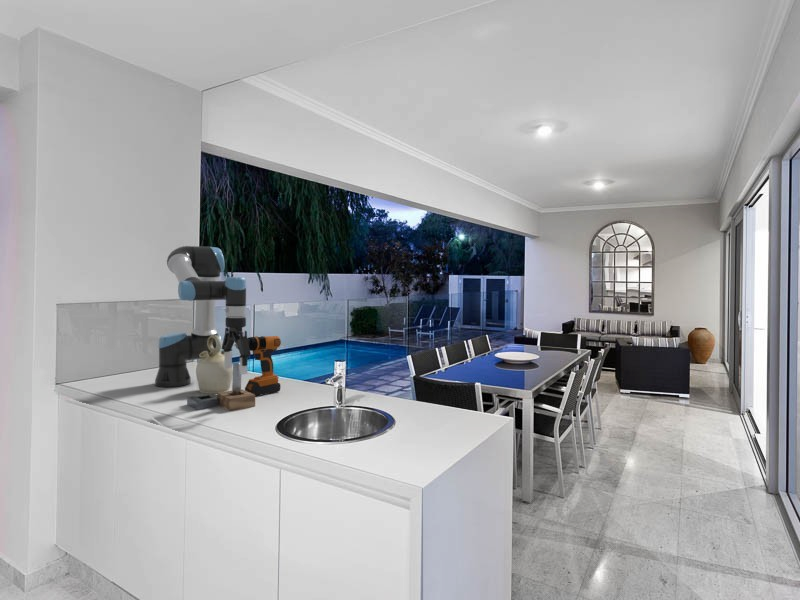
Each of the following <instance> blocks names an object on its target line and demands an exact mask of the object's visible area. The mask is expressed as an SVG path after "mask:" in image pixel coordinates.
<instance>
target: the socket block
mask: <svg viewBox="0 0 800 600" xmlns="http://www.w3.org/2000/svg"><path fill="white" fill-rule="evenodd" d="M186 405H187V406H188V407H190V408H192V409H194V410H196V411H200V410H205V409H210V408H216V407H217V408H218V407H221V406H220V398H219V397H217V393H202V394H198V395H190V396H186Z"/></svg>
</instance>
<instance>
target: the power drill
mask: <svg viewBox="0 0 800 600" xmlns="http://www.w3.org/2000/svg"><path fill="white" fill-rule="evenodd" d="M247 339H248V344H249V348H250V352H252V354H253V355H254V356H255V358H254V360H255V361H259V362H260V370H261V373H262V374H261V375H259V376H255V377H253V378H250V379H249V380H248V381H247V384H246V386H245V387H244V390H245V391H247V392H250V393H252V394H255V397H259V396H263V395H268V394H272V393H273V394H274V393H276V392H277V393H278V392H280V391H281V389H282V388H281V383H280V382H279V376H278V375H277V374H274V360H273V358H272V353H273V352H276V351H277V350H278V348H280V347H281V344H282V340H281V338H280V337H279V336H278V335H271V336H267V335H265V336H264V335H263V336H261V335H260V336H257V335H256V336H250V337H247ZM233 346H234V347H235V348H236V349H238V346H237V343H234V344H233ZM238 350H239V349H238Z"/></svg>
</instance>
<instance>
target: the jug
mask: <svg viewBox="0 0 800 600" xmlns="http://www.w3.org/2000/svg"><path fill="white" fill-rule="evenodd" d="M213 338H214V339H215V341H216V349H214V347H213V345H212V341H213ZM222 344H223V343H222V339H221V340H220V338H219V337H218V336H217V335H211V336H210V337H209V338H208V341H207V345H208V348H209V350H210V351H211V352H210V353H209V354H208V351H203V352H201V353H200V355H199V357H201V359H198V362H197V363H196V367H195V375H196V379H197V380H196V381H197V385H198V389H199V392H200V394H210V393H213V394H217V393H220V392H226V391H230V388H231V386H232V385H231V384H232V381H233V364H232V368H226V369H225V352H224V349H222ZM221 349H222V350H221ZM219 351H221V352H219Z"/></svg>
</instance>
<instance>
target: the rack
mask: <svg viewBox="0 0 800 600" xmlns="http://www.w3.org/2000/svg"><path fill="white" fill-rule="evenodd" d="M216 395H217V397H219V398H220V406H219V407H222V408H224V409H225V410H228V411H229V412H232V411H237V410H242V409H248V408H252V407H256V396H255V394H252V393H250V392H247V391H245V389H242V388H241V395H236V396H232V390H228V391H225V392H220V393H216Z"/></svg>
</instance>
